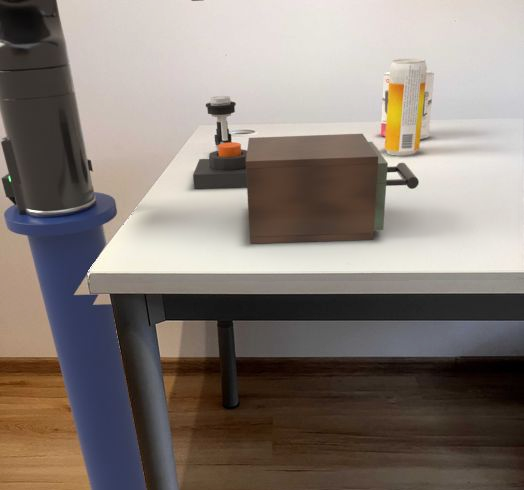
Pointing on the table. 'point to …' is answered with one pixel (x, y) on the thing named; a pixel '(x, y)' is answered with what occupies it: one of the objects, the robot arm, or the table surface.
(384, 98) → the ink box
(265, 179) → the cabinet
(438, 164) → the table surface
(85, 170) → the robot arm
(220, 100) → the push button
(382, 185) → the drawer
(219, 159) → the control box
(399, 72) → the beer can
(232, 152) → the button
